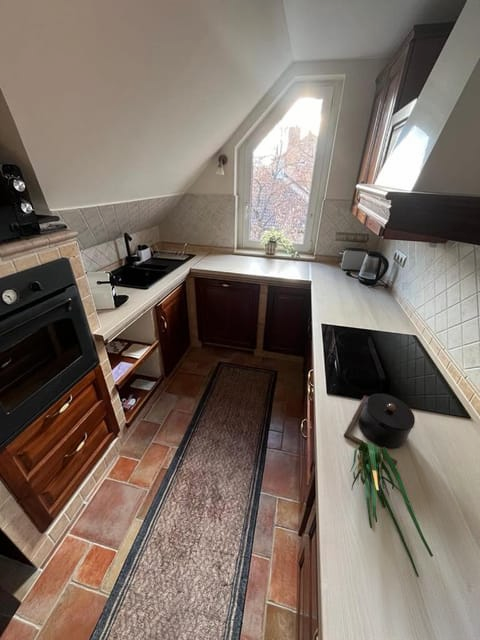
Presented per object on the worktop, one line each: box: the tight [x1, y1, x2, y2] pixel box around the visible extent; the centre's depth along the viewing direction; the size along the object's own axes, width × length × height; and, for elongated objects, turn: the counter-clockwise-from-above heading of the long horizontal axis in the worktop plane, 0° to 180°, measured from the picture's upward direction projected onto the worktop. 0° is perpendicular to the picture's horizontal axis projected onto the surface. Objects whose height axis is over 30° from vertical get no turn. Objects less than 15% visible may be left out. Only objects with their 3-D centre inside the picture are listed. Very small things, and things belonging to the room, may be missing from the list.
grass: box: [349, 439, 434, 578], centre depth 62 cm, size 18×15×25 cm
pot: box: [357, 393, 416, 450], centre depth 82 cm, size 14×16×12 cm
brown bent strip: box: [343, 395, 398, 466], centre depth 85 cm, size 15×22×1 cm
